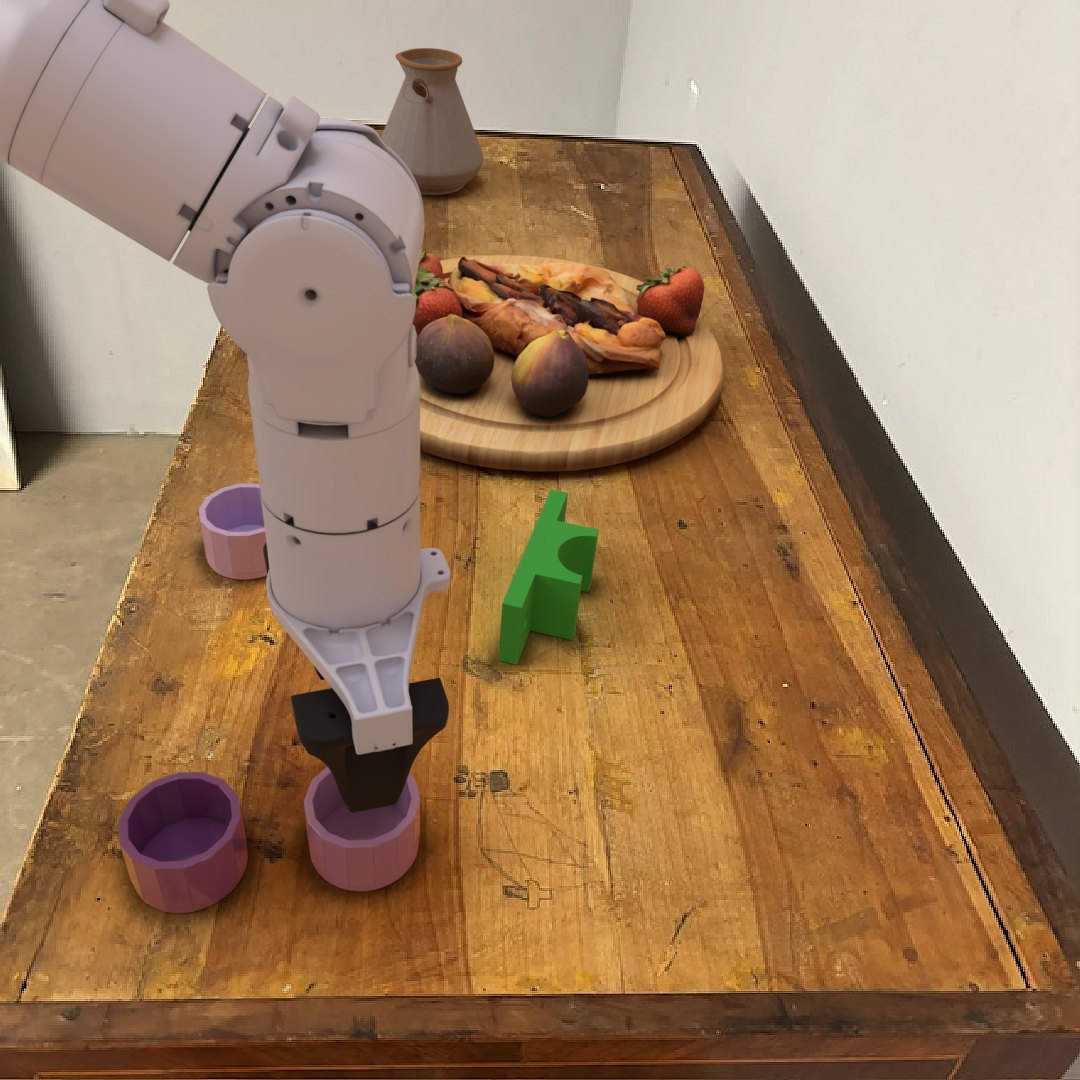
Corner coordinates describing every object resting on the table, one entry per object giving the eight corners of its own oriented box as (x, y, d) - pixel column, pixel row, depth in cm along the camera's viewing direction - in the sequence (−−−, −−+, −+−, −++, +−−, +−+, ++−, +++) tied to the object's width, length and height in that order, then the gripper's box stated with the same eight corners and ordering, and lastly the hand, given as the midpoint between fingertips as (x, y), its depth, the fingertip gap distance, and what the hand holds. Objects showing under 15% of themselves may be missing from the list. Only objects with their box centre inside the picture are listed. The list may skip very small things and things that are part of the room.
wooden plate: (683, 282, 102) (698, 197, 97) (761, 483, 78) (786, 383, 72) (341, 271, 99) (336, 183, 94) (309, 477, 74) (300, 372, 69)
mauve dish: (318, 904, 49) (314, 859, 47) (302, 811, 53) (297, 765, 51) (430, 878, 51) (430, 834, 49) (406, 789, 55) (405, 744, 52)
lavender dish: (209, 586, 65) (202, 541, 63) (203, 532, 69) (196, 488, 67) (297, 573, 67) (292, 529, 64) (285, 521, 70) (281, 478, 68)
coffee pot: (383, 158, 121) (380, 14, 112) (485, 166, 122) (491, 23, 112) (355, 237, 105) (349, 76, 95) (474, 246, 105) (479, 86, 96)
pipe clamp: (561, 676, 62) (567, 618, 59) (498, 662, 62) (501, 603, 59) (601, 555, 70) (608, 499, 67) (545, 543, 71) (550, 487, 68)
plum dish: (133, 926, 48) (119, 881, 46) (130, 829, 52) (117, 783, 50) (253, 899, 49) (245, 854, 47) (241, 806, 53) (234, 761, 51)
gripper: (502, 600, 35) (487, 847, 44) (406, 373, 45) (409, 608, 54) (281, 636, 33) (311, 888, 42) (234, 390, 44) (266, 632, 52)
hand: (356, 732), depth 48 cm, fingers open, 7 cm apart
